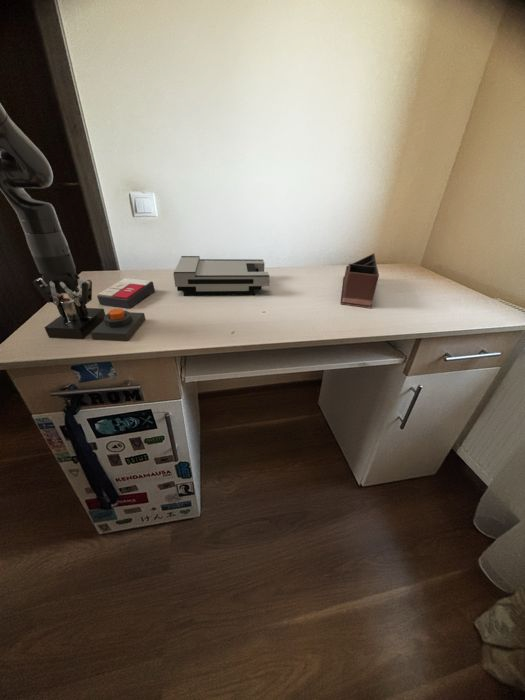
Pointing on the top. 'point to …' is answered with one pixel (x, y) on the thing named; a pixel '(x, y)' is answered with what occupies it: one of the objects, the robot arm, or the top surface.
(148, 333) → the top surface
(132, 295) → the calculator
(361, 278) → the desk organizer
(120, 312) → the button
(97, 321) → the dial panel
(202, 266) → the game console
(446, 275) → the top surface
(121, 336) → the button block
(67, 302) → the dial
